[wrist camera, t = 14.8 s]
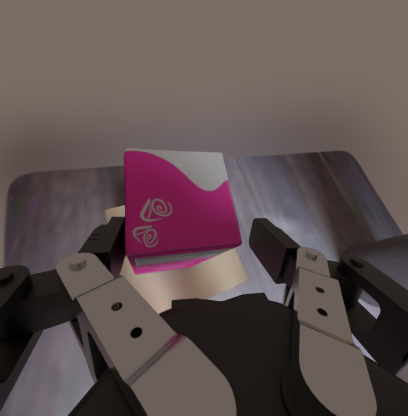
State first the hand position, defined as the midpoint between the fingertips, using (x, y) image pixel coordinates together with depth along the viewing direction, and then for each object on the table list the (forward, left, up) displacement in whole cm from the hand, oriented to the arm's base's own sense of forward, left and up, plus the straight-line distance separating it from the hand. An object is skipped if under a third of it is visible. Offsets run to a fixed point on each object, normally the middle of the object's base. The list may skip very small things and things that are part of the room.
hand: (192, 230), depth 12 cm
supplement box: (+2, -1, -9) cm, 9 cm away
